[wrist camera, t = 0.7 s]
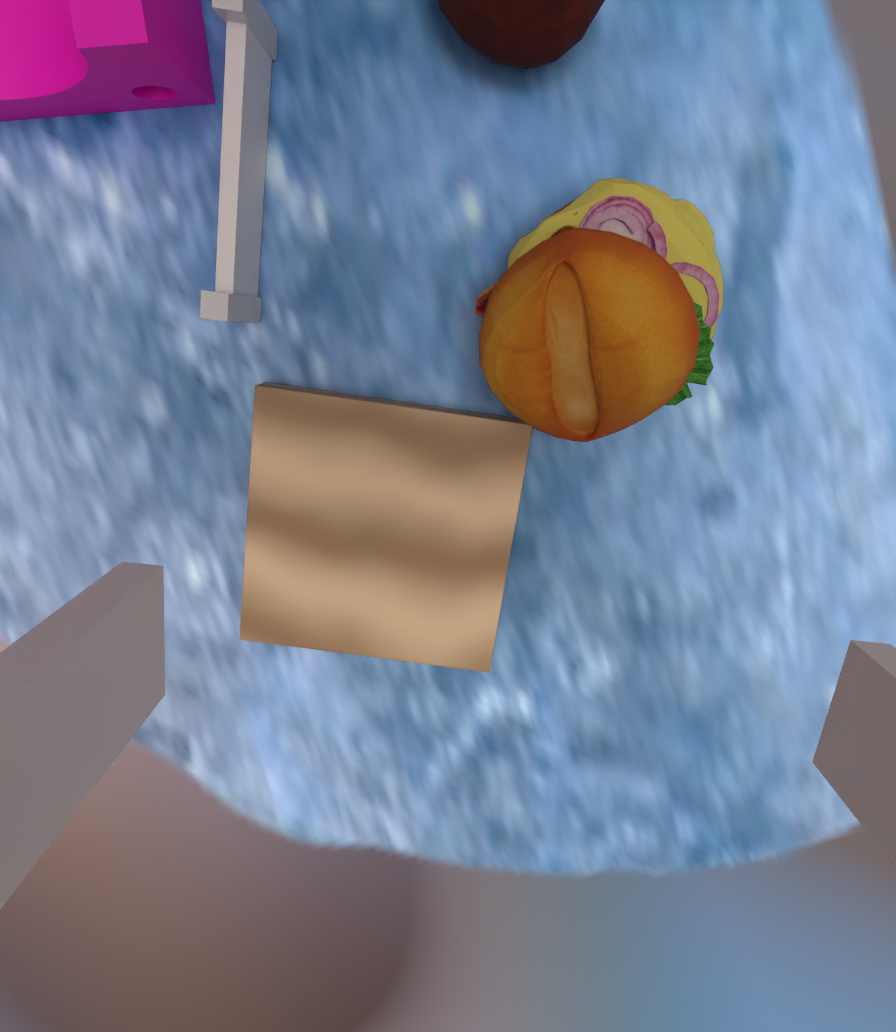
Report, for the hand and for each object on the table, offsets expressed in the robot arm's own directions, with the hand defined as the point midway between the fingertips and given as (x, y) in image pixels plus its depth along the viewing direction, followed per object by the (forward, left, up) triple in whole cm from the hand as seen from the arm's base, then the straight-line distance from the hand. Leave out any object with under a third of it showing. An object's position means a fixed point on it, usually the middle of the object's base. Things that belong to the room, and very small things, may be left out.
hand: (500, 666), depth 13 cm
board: (+5, -4, -24) cm, 25 cm away
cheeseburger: (-9, +6, -25) cm, 27 cm away
